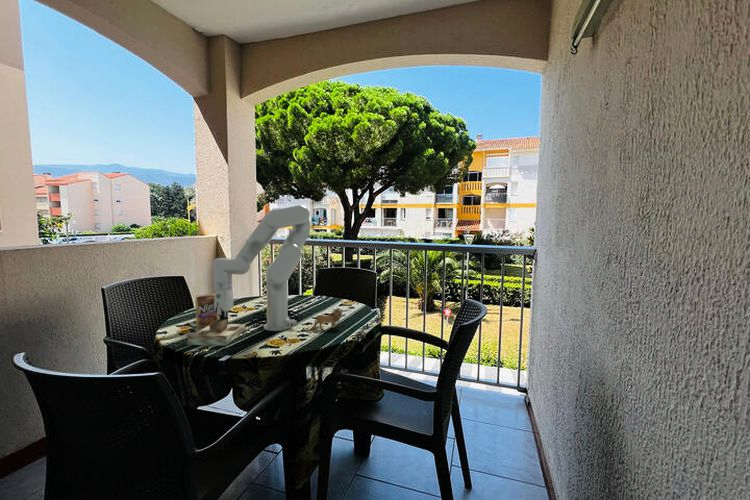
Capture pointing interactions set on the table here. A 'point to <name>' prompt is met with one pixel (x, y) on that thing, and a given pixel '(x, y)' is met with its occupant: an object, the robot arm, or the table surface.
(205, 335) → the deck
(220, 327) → the block
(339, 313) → the lion figurine
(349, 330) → the table surface
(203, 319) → the candy box
